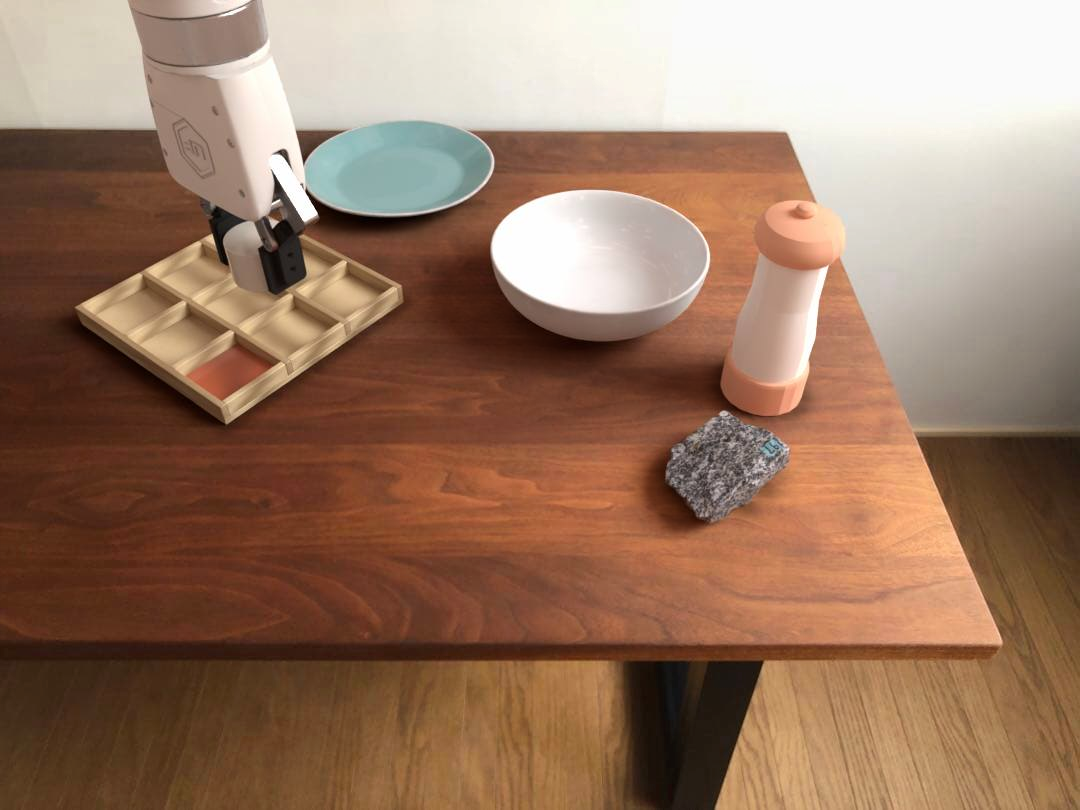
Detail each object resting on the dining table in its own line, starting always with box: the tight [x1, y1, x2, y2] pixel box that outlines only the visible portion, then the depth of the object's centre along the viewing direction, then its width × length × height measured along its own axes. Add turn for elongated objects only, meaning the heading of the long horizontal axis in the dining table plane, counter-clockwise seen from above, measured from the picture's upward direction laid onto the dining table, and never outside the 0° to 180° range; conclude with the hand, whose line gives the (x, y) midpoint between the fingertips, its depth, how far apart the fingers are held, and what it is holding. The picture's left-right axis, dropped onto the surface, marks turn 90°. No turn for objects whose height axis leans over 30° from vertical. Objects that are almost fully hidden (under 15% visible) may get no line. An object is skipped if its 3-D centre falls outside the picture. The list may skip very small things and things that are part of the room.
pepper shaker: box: [720, 199, 847, 417], centre depth 74 cm, size 7×7×19 cm
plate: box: [303, 119, 495, 218], centre depth 104 cm, size 22×22×3 cm
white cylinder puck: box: [223, 219, 280, 292], centre depth 66 cm, size 5×5×3 cm
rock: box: [664, 409, 791, 524], centre depth 72 cm, size 8×10×4 cm
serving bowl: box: [489, 189, 711, 342], centre depth 87 cm, size 21×21×7 cm
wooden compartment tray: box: [74, 214, 404, 426], centre depth 87 cm, size 22×22×2 cm
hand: (263, 268), depth 67 cm, fingers closed on white cylinder puck, 4 cm apart
